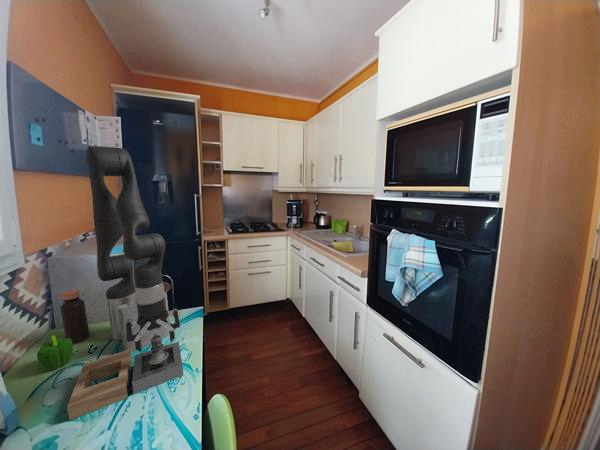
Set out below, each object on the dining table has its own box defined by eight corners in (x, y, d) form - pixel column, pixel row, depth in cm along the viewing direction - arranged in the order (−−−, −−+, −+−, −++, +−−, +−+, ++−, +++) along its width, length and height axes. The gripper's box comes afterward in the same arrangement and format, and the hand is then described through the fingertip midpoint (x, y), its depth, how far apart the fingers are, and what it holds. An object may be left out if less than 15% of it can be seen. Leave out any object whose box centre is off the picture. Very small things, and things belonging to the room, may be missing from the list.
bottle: (71, 336, 95) (63, 290, 92) (92, 332, 97) (85, 287, 95) (62, 346, 89) (53, 297, 86) (85, 341, 91) (77, 293, 88)
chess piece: (145, 376, 73) (141, 341, 71) (151, 363, 78) (148, 330, 76) (166, 372, 74) (163, 337, 72) (171, 359, 80) (168, 327, 78)
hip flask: (168, 330, 98) (164, 285, 95) (172, 334, 95) (168, 288, 92) (122, 350, 86) (115, 300, 83) (126, 355, 83) (118, 303, 80)
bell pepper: (71, 367, 78) (66, 340, 77) (36, 378, 74) (30, 349, 72) (78, 352, 85) (74, 327, 84) (46, 361, 81) (41, 335, 79)
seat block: (136, 366, 78) (134, 355, 78) (179, 351, 85) (178, 341, 85) (133, 394, 67) (132, 382, 67) (183, 375, 74) (182, 363, 74)
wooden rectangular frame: (86, 374, 75) (84, 363, 74) (131, 359, 81) (130, 349, 81) (69, 420, 60) (66, 406, 59) (127, 398, 66) (125, 385, 66)
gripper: (175, 288, 79) (179, 332, 82) (123, 299, 72) (130, 346, 74) (177, 296, 73) (182, 343, 75) (121, 309, 66) (128, 361, 68)
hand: (156, 345), depth 75 cm, fingers open, 8 cm apart
